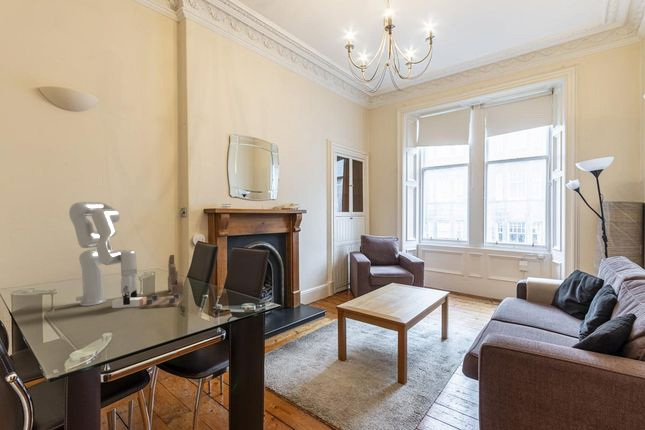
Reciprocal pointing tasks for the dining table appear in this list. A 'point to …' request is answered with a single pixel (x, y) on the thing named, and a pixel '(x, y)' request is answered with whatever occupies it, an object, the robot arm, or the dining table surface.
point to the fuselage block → (133, 302)
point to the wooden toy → (174, 278)
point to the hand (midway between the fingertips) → (130, 301)
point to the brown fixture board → (163, 301)
